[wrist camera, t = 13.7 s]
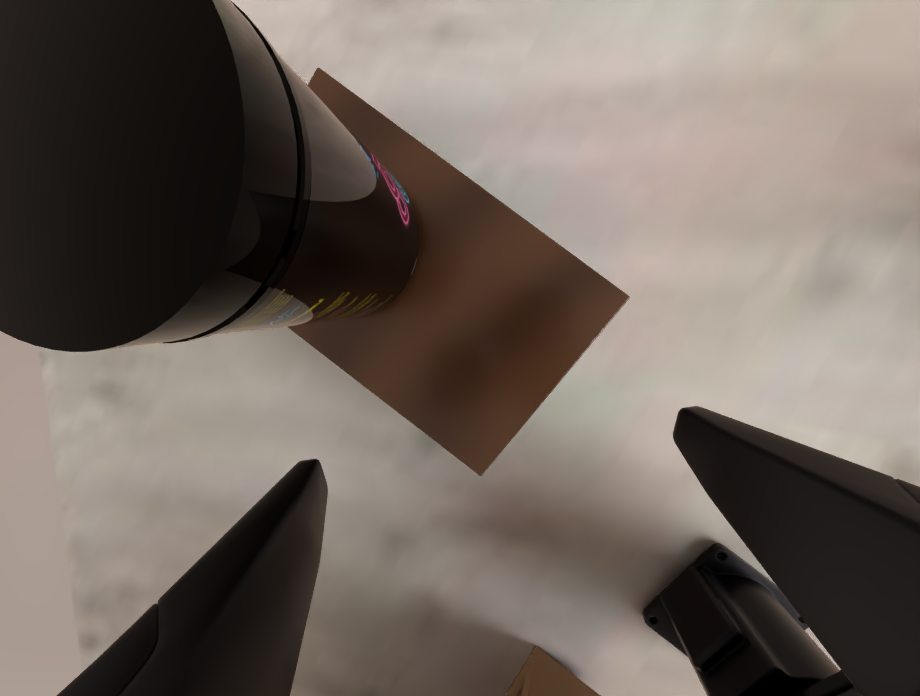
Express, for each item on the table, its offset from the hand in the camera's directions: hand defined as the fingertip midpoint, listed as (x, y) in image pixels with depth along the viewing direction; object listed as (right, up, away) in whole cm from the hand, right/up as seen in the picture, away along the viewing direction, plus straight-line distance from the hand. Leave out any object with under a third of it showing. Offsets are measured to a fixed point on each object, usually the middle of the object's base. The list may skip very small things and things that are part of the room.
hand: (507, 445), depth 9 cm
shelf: (-3, +6, +12) cm, 14 cm away
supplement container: (-6, +7, +7) cm, 12 cm away
